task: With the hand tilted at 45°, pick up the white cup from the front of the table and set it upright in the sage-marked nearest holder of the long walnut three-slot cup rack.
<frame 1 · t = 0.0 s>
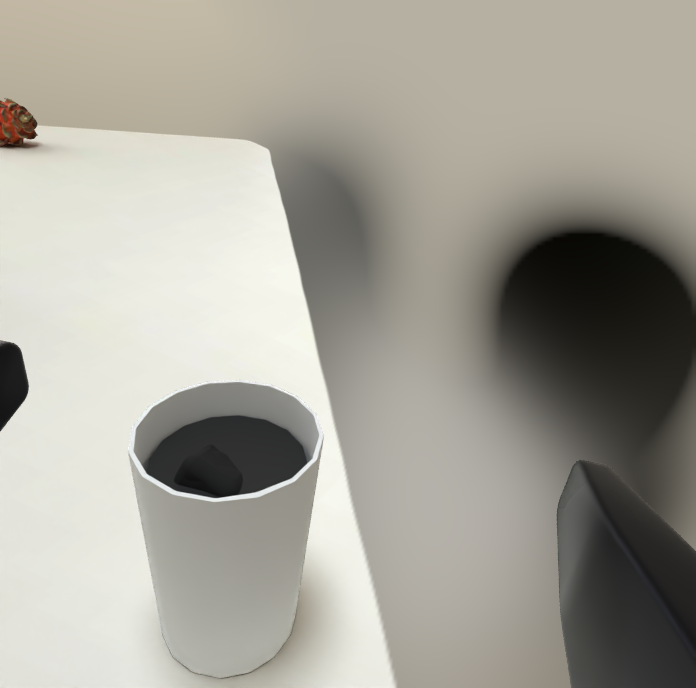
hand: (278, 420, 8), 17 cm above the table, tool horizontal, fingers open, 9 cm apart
white cup: (230, 613, 24), on the table
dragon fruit: (5, 145, 99), on the table
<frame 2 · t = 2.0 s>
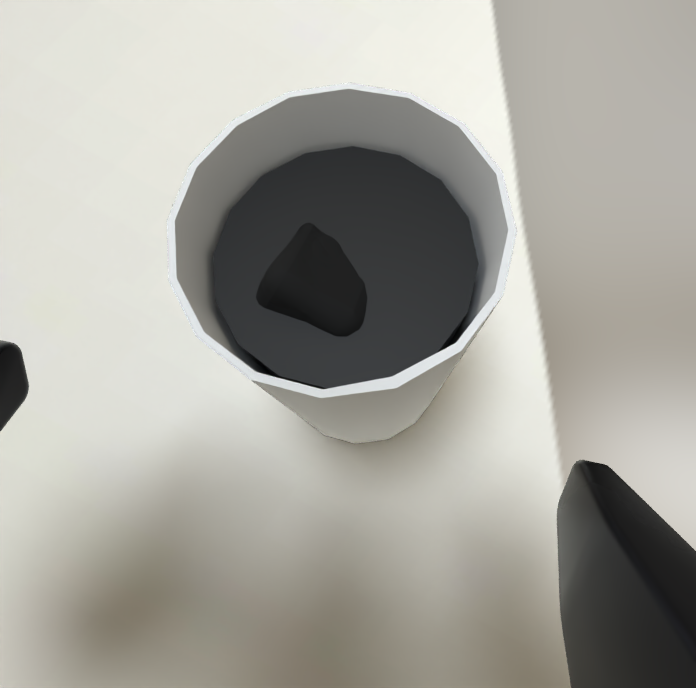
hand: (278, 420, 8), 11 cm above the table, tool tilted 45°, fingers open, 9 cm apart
white cup: (361, 365, 20), on the table
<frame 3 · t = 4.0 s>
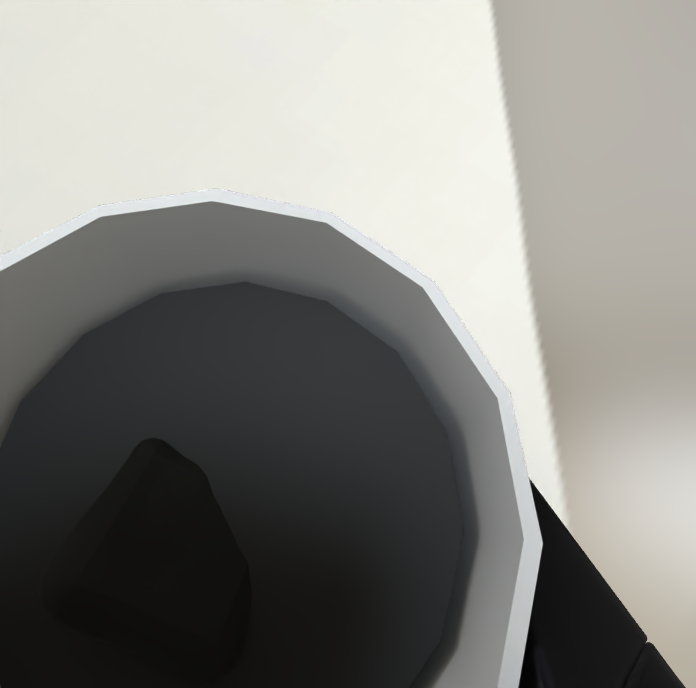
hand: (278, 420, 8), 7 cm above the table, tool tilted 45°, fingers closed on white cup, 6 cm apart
white cup: (312, 510, 15), on the table, touching gripper
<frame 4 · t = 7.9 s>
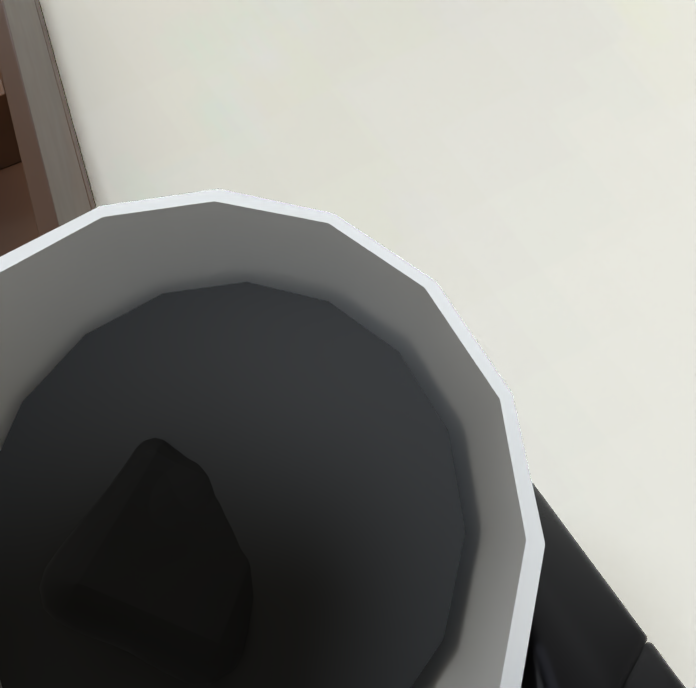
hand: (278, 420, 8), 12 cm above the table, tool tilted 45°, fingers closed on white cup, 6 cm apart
white cup: (313, 510, 15), point 6 cm above the table, touching gripper
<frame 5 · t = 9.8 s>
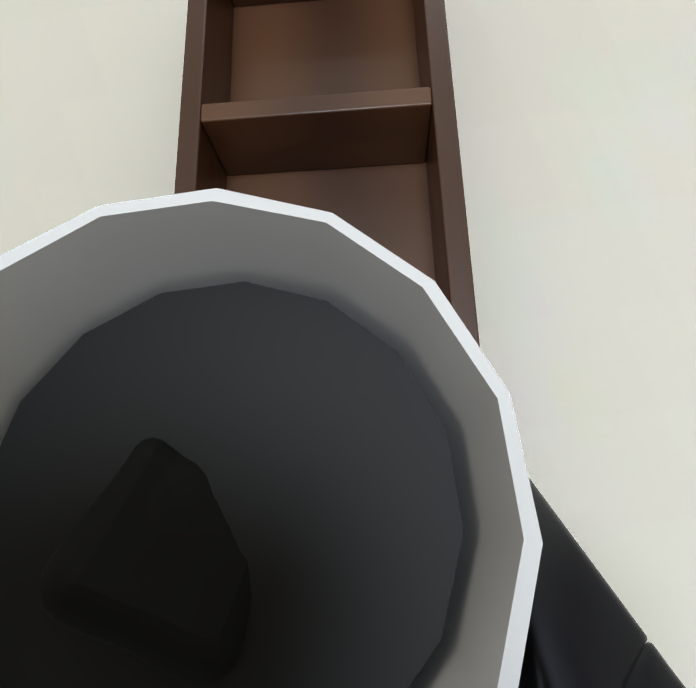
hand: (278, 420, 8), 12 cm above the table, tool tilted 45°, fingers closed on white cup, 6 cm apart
white cup: (312, 509, 15), point 5 cm above the table, touching gripper
cup rack: (328, 267, 22), on the table
when the fingers open (7 cm above the table, at t = 11.7 s): white cup stays where it is, resting on cup rack.
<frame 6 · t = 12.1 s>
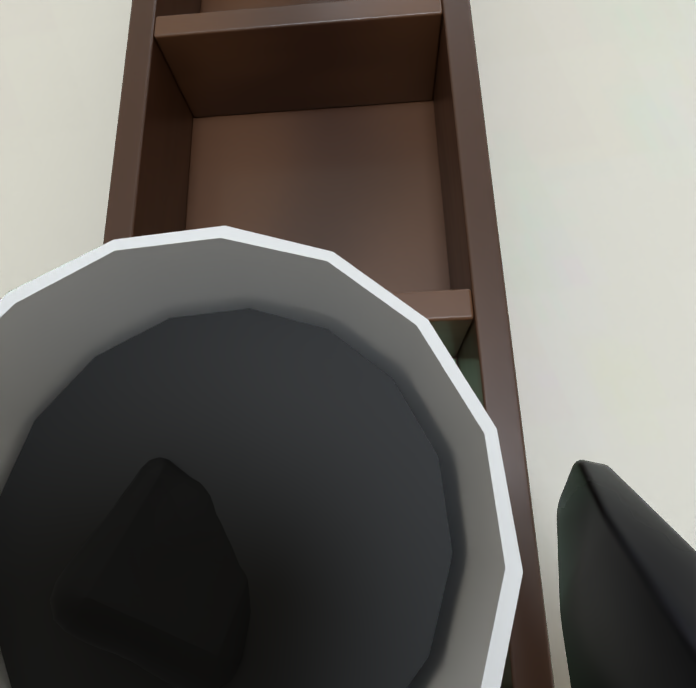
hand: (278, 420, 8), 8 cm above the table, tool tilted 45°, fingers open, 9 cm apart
white cup: (311, 518, 15), point 1 cm above the table, touching cup rack
cup rack: (315, 225, 18), on the table
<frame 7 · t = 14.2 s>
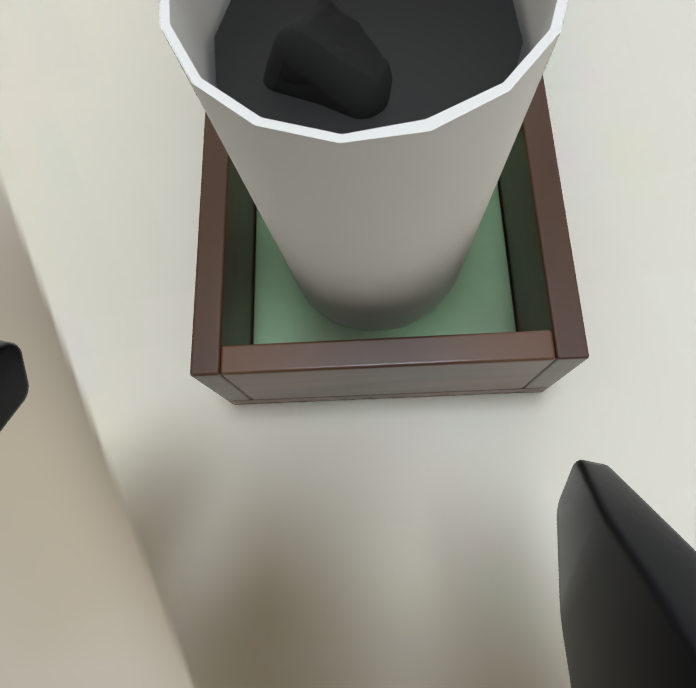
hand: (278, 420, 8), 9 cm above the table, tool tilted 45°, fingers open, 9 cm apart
white cup: (375, 252, 18), point 1 cm above the table, touching cup rack
cup rack: (368, 46, 22), on the table
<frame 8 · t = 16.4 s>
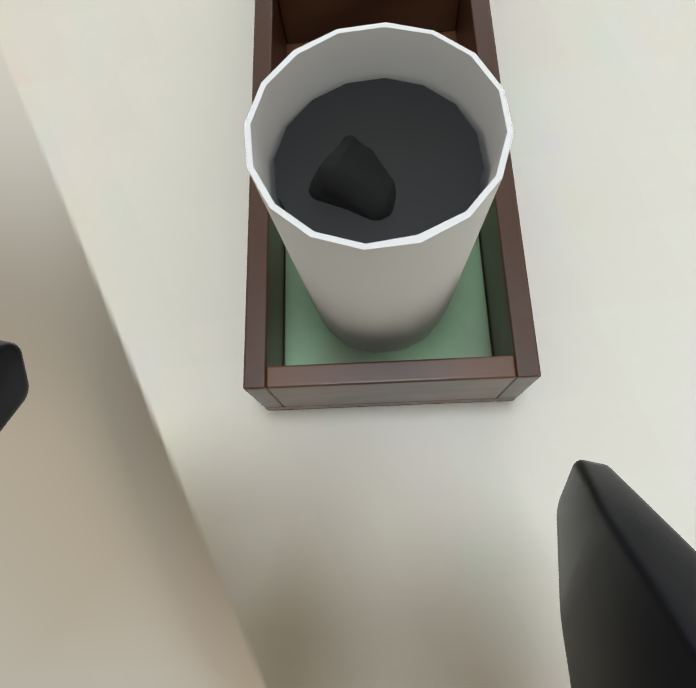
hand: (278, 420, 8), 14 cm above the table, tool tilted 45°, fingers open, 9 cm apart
white cup: (380, 289, 23), point 1 cm above the table, touching cup rack
cup rack: (374, 116, 26), on the table
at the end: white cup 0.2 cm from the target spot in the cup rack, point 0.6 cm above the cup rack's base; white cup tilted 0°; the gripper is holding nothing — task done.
